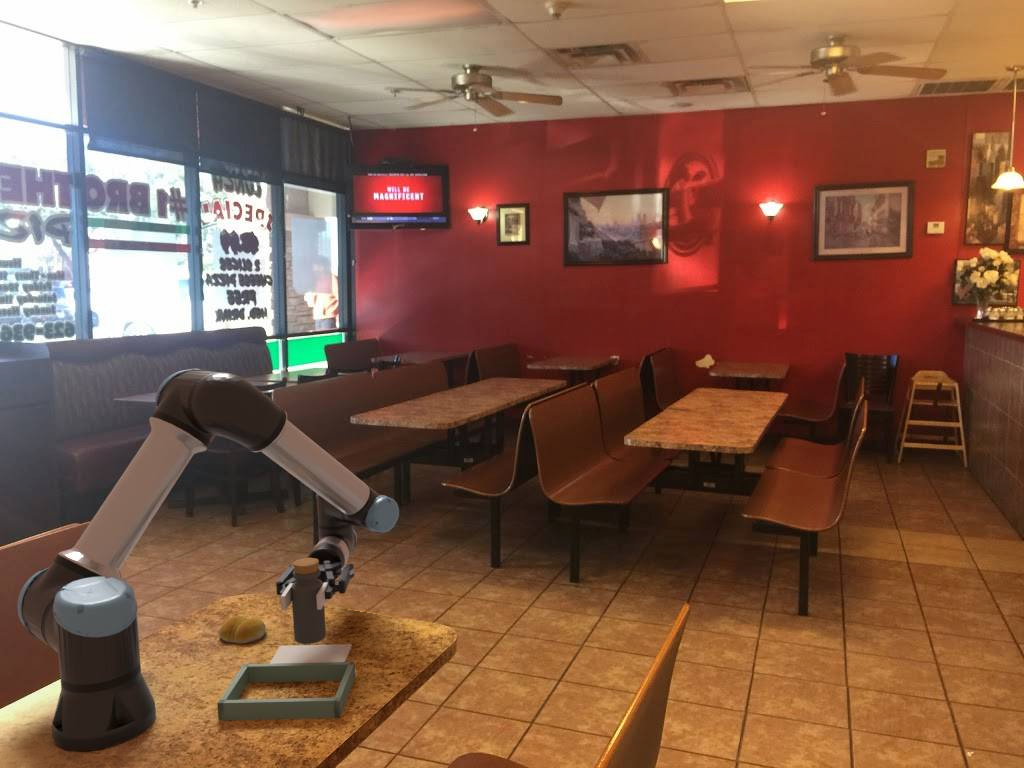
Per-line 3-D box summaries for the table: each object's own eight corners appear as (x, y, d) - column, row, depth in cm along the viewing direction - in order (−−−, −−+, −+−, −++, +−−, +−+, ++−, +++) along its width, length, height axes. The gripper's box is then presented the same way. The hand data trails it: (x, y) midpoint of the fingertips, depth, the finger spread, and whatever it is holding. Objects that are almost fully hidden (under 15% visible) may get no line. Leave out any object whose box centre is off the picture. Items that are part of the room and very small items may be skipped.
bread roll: (252, 647, 165) (250, 627, 164) (213, 642, 167) (211, 623, 167) (274, 630, 173) (273, 611, 172) (237, 625, 175) (236, 607, 175)
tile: (266, 671, 154) (265, 669, 154) (280, 648, 164) (280, 645, 164) (341, 670, 154) (341, 667, 154) (351, 646, 164) (351, 644, 164)
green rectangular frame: (218, 720, 137) (217, 703, 136) (244, 679, 151) (243, 664, 150) (340, 717, 137) (339, 700, 137) (355, 677, 151) (354, 661, 151)
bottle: (318, 645, 155) (313, 567, 153) (288, 643, 156) (284, 566, 154) (330, 632, 161) (327, 557, 159) (302, 630, 162) (298, 555, 160)
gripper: (373, 576, 176) (353, 621, 153) (283, 578, 175) (250, 623, 153) (371, 541, 175) (351, 581, 152) (281, 543, 175) (248, 584, 152)
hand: (301, 602), depth 152 cm, fingers closed on bottle, 6 cm apart
